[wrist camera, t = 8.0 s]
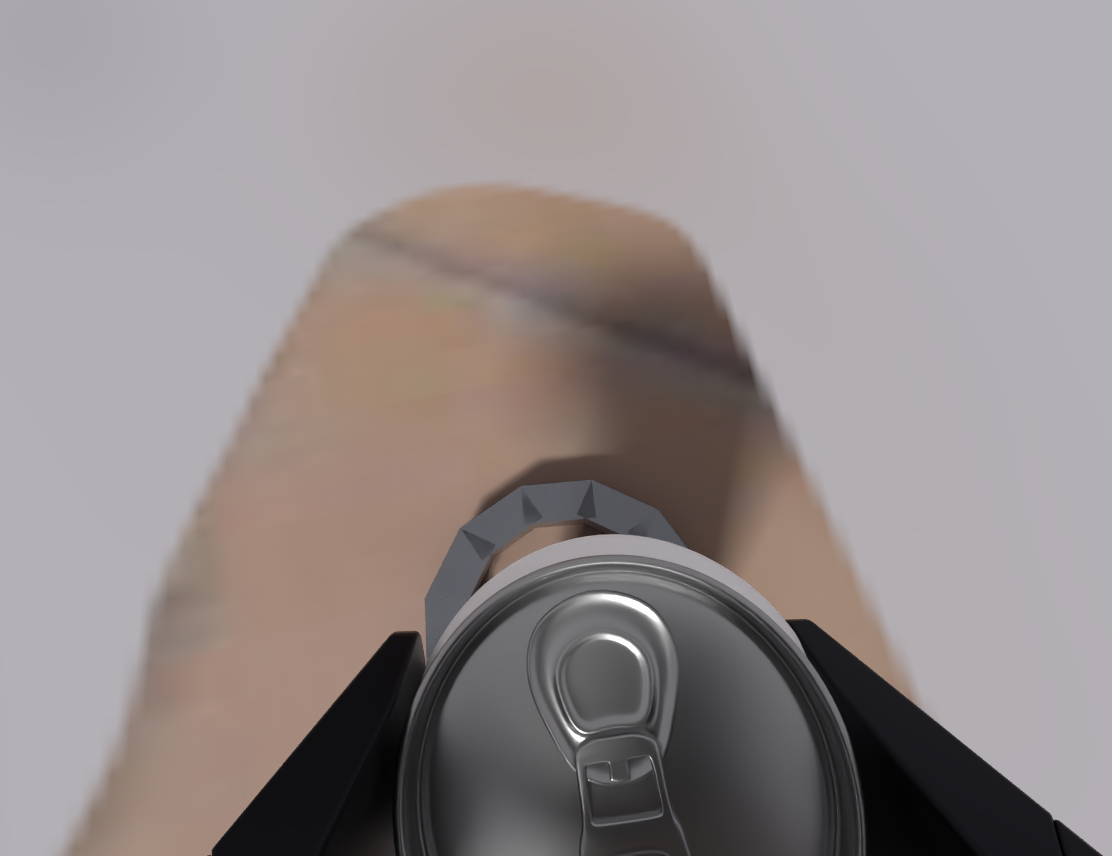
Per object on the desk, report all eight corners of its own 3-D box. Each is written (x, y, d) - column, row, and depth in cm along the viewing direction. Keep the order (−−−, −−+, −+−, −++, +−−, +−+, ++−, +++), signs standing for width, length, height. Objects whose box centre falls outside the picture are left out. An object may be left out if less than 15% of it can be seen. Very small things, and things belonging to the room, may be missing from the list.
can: (688, 542, 19) (815, 482, 7) (735, 752, 17) (1007, 1121, 5) (504, 573, 19) (343, 565, 7) (531, 783, 17) (373, 1197, 6)
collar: (724, 756, 20) (738, 769, 19) (438, 790, 20) (430, 805, 18) (678, 478, 23) (687, 471, 22) (430, 501, 23) (422, 494, 21)
